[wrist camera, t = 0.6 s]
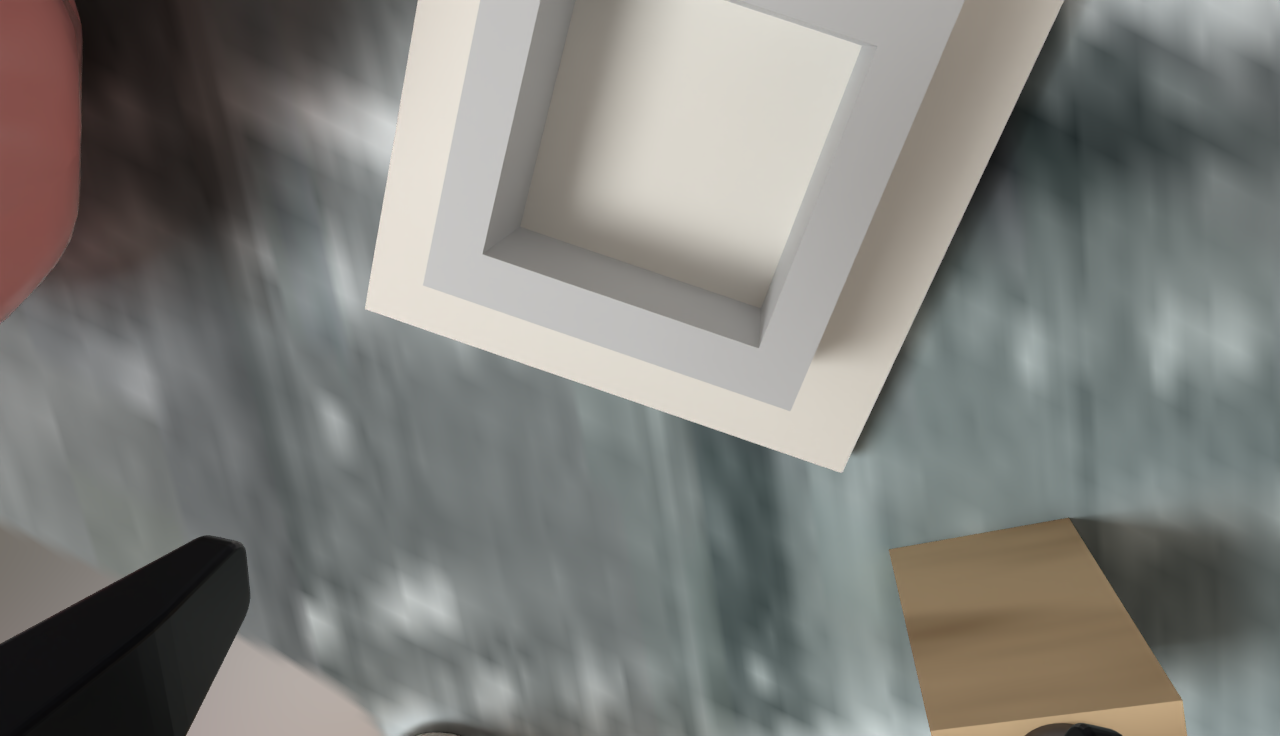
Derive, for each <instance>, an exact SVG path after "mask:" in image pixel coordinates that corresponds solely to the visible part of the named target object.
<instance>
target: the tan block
mask: <svg viewBox="0 0 1280 736" xmlns="http://www.w3.org/2000/svg"><path fill="white" fill-rule="evenodd" d="M889 552H890V557H891V561H892V566H893V570H894V574H895V579H896V583H897V587H898V592H899V596H900V601H901V605H902V609H903V614H904V618H905V622H906V627H907V631H908V636H909V640H910V644H911V649H912V653H913V657H914V662H915V666H916V671H917V675H918V679H919V684H920V688H921V692H922V697H923V701H924V706H925V710H926V714H927V719H928V723H929V727H930V732H931V736H1064V735H1065V733H1066V732H1067V731H1068V729H1069V728H1070V727H1071V726H1073V725H1075V724H1077V723H1086V724H1091V725H1095V726H1100V727H1105V728H1109V729H1112V730H1115V731H1117V732H1118V733H1120V734H1121V735H1122V736H1187V732H1186V725H1185V717H1184V709H1183V702H1182V699H1181V697H1180V696H1179V694H1178V693H1177V691H1176V689H1175V688H1174V686H1173V685H1172V683H1171V681H1170V680H1169V678H1168V676H1167V675H1166V673H1165V672H1164V670H1163V668H1162V667H1161V665H1160V664H1159V662H1158V660H1157V659H1156V657H1155V656H1154V654H1153V652H1152V651H1151V649H1150V648H1149V646H1148V644H1147V643H1146V641H1145V640H1144V638H1143V636H1142V635H1141V633H1140V632H1139V630H1138V628H1137V627H1136V625H1135V624H1134V622H1133V620H1132V619H1131V617H1130V615H1129V614H1128V612H1127V611H1126V609H1125V607H1124V606H1123V604H1122V603H1121V601H1120V599H1119V598H1118V596H1117V595H1116V593H1115V591H1114V590H1113V588H1112V587H1111V585H1110V583H1109V582H1108V580H1107V579H1106V577H1105V575H1104V574H1103V572H1102V571H1101V569H1100V567H1099V566H1098V564H1097V562H1096V561H1095V559H1094V558H1093V556H1092V554H1091V553H1090V551H1089V550H1088V548H1087V546H1086V545H1085V543H1084V542H1083V540H1082V538H1081V537H1080V535H1079V534H1078V532H1077V530H1076V529H1075V527H1074V526H1073V524H1072V522H1071V521H1070V519H1069V518H1065V519H1059V520H1053V521H1048V522H1042V523H1036V524H1031V525H1025V526H1019V527H1014V528H1008V529H1002V530H997V531H991V532H985V533H980V534H974V535H968V536H963V537H957V538H951V539H946V540H940V541H934V542H929V543H923V544H918V545H912V546H906V547H901V548H895V549H889Z"/></svg>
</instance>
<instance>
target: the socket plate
mask: <svg viewBox="0 0 1280 736" xmlns="http://www.w3.org/2000/svg"><path fill="white" fill-rule="evenodd" d="M1063 2H1064V0H418V4H417V9H416V15H415V21H414V27H413V33H412V38H411V44H410V50H409V56H408V62H407V67H406V73H405V79H404V85H403V91H402V96H401V102H400V108H399V114H398V120H397V125H396V131H395V137H394V143H393V149H392V155H391V160H390V166H389V172H388V178H387V184H386V189H385V195H384V201H383V207H382V213H381V218H380V224H379V230H378V236H377V242H376V247H375V253H374V259H373V265H372V271H371V276H370V282H369V288H368V294H367V300H366V305H365V309H366V310H369V311H372V312H375V313H378V314H381V315H384V316H387V317H390V318H393V319H396V320H398V321H401V322H404V323H407V324H410V325H413V326H416V327H419V328H422V329H425V330H428V331H430V332H433V333H436V334H439V335H442V336H445V337H448V338H451V339H454V340H457V341H459V342H462V343H465V344H468V345H471V346H474V347H477V348H480V349H483V350H486V351H489V352H491V353H494V354H497V355H500V356H503V357H506V358H509V359H512V360H515V361H518V362H521V363H523V364H526V365H529V366H532V367H535V368H538V369H541V370H544V371H547V372H550V373H552V374H555V375H558V376H561V377H564V378H567V379H570V380H573V381H576V382H579V383H582V384H584V385H587V386H590V387H593V388H596V389H599V390H602V391H605V392H608V393H611V394H614V395H616V396H619V397H622V398H625V399H628V400H631V401H634V402H637V403H640V404H643V405H645V406H648V407H651V408H654V409H657V410H660V411H663V412H666V413H669V414H672V415H675V416H677V417H680V418H683V419H686V420H689V421H692V422H695V423H698V424H701V425H704V426H707V427H709V428H712V429H715V430H718V431H721V432H724V433H727V434H730V435H733V436H736V437H739V438H741V439H744V440H747V441H750V442H753V443H756V444H759V445H762V446H765V447H768V448H770V449H773V450H776V451H779V452H782V453H785V454H788V455H791V456H794V457H797V458H800V459H802V460H805V461H808V462H811V463H814V464H817V465H820V466H823V467H826V468H829V469H832V470H834V471H837V472H840V473H842V472H843V470H844V468H845V466H846V463H847V461H848V459H849V457H850V455H851V453H852V451H853V448H854V446H855V444H856V442H857V440H858V438H859V436H860V434H861V431H862V429H863V427H864V425H865V423H866V421H867V419H868V417H869V414H870V412H871V410H872V408H873V406H874V404H875V402H876V400H877V397H878V395H879V393H880V391H881V389H882V387H883V385H884V383H885V380H886V378H887V376H888V374H889V372H890V370H891V368H892V366H893V363H894V361H895V359H896V357H897V355H898V353H899V351H900V349H901V346H902V344H903V342H904V340H905V338H906V336H907V334H908V331H909V329H910V327H911V325H912V323H913V321H914V319H915V317H916V314H917V312H918V310H919V308H920V306H921V304H922V302H923V300H924V297H925V295H926V293H927V291H928V289H929V287H930V285H931V283H932V280H933V278H934V276H935V274H936V272H937V270H938V268H939V266H940V263H941V261H942V259H943V257H944V255H945V253H946V251H947V249H948V246H949V244H950V242H951V240H952V238H953V236H954V234H955V232H956V229H957V227H958V225H959V223H960V221H961V219H962V217H963V214H964V212H965V210H966V208H967V206H968V204H969V202H970V200H971V197H972V195H973V193H974V191H975V189H976V187H977V185H978V183H979V180H980V178H981V176H982V174H983V172H984V170H985V168H986V166H987V163H988V161H989V159H990V157H991V155H992V153H993V151H994V149H995V146H996V144H997V142H998V140H999V138H1000V136H1001V134H1002V132H1003V129H1004V127H1005V125H1006V123H1007V121H1008V119H1009V117H1010V115H1011V112H1012V110H1013V108H1014V106H1015V104H1016V102H1017V100H1018V97H1019V95H1020V93H1021V91H1022V89H1023V87H1024V85H1025V83H1026V80H1027V78H1028V76H1029V74H1030V72H1031V70H1032V68H1033V66H1034V63H1035V61H1036V59H1037V57H1038V55H1039V53H1040V51H1041V49H1042V46H1043V44H1044V42H1045V40H1046V38H1047V36H1048V34H1049V32H1050V29H1051V27H1052V25H1053V23H1054V21H1055V19H1056V17H1057V15H1058V12H1059V10H1060V8H1061V6H1062V4H1063Z"/></svg>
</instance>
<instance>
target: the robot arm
mask: <svg viewBox="0 0 1280 736" xmlns="http://www.w3.org/2000/svg"><path fill="white" fill-rule="evenodd" d="M249 603H250V586H249V576H248V566H247V556H246V550H245V547H244V546H243V545H242V543H240V542H238V541H235V540H230V539H225V538H221V537H216V536H210V535H206V536H202V537H198V538H196V539H194V540H192V541H190V542H189V543H187V544H185V545H183V546H181V547H179V548H177V549H175V550H174V551H172V552H170V553H168V554H166V555H164V556H162V557H161V558H159V559H157V560H155V561H153V562H151V563H149V564H148V565H146V566H144V567H142V568H140V569H138V570H136V571H135V572H133V573H131V574H129V575H127V576H125V577H123V578H122V579H120V580H118V581H116V582H114V583H112V584H110V585H109V586H107V587H105V588H103V589H101V590H99V591H98V592H96V593H94V594H92V595H90V596H88V597H86V598H85V599H83V600H81V601H79V602H77V603H75V604H73V605H71V606H70V607H68V608H66V609H64V610H62V611H60V612H59V613H57V614H55V615H53V616H51V617H50V618H47V619H45V620H44V621H42V622H40V623H38V624H36V625H35V626H32V627H31V628H29V629H27V630H25V631H23V632H22V633H20V634H18V635H16V636H14V637H12V638H10V639H9V640H6V641H5V642H3V643H1V644H0V736H186V734H187V732H188V731H189V729H190V727H191V724H192V723H193V721H194V719H195V717H196V715H197V713H198V711H199V708H200V706H201V705H202V702H203V700H204V699H205V697H206V694H207V692H208V691H209V688H210V686H211V684H212V682H213V681H214V678H215V677H216V675H217V673H218V670H219V669H220V667H221V665H222V663H223V661H224V658H225V657H226V655H227V652H228V650H229V648H230V646H231V644H232V642H233V640H234V638H235V636H236V634H237V632H238V630H239V628H240V626H241V624H242V622H243V620H244V618H245V616H246V613H247V611H248V607H249ZM1064 736H1122V735H1121V734H1120V733H1118V732H1117V731H1115V730H1112V729H1109V728H1105V727H1100V726H1095V725H1091V724H1086V723H1077V724H1075V725H1073V726H1071V727H1070V728H1069V729H1068V731H1067V732H1066V733H1065V735H1064Z"/></svg>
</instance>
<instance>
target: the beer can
mask: <svg viewBox="0 0 1280 736" xmlns="http://www.w3.org/2000/svg"><path fill="white" fill-rule="evenodd" d="M416 736H459V735H455V734H449V733H440V732H436V733H424V734H420V735H416Z"/></svg>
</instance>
